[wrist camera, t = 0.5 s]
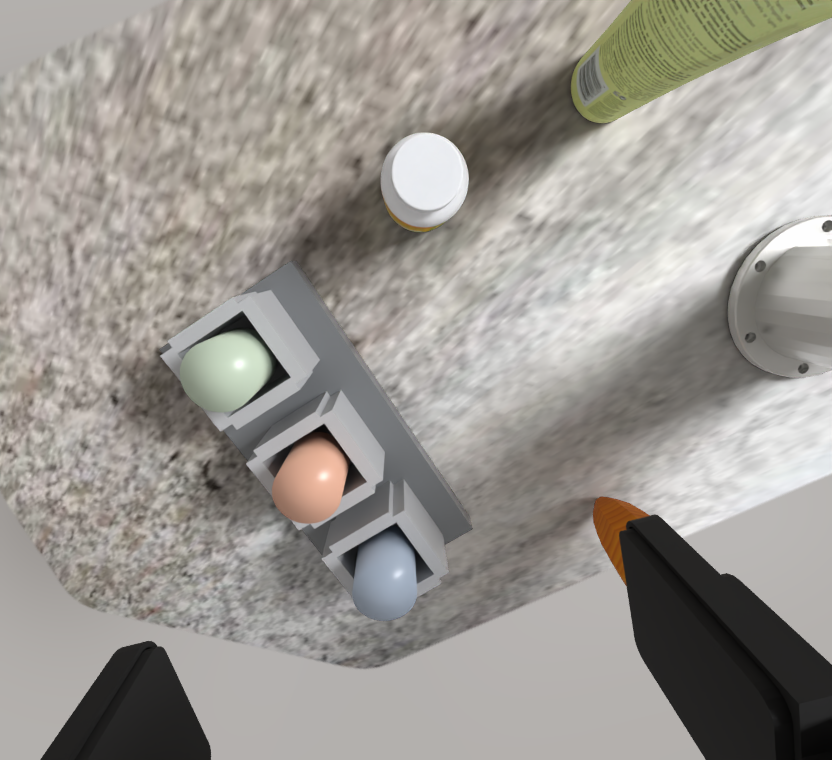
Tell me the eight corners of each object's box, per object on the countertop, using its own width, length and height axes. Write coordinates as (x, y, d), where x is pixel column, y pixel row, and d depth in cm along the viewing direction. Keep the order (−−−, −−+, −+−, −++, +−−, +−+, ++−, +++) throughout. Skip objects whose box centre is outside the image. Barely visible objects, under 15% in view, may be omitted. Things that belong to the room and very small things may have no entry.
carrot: (638, 494, 42) (763, 618, 28) (601, 534, 43) (702, 675, 29) (597, 464, 41) (704, 575, 27) (560, 505, 42) (643, 635, 28)
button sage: (250, 315, 32) (224, 325, 27) (289, 368, 33) (270, 387, 28) (198, 350, 33) (164, 366, 28) (238, 401, 34) (211, 425, 29)
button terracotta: (327, 421, 34) (315, 448, 30) (361, 468, 35) (355, 501, 31) (277, 452, 35) (257, 483, 30) (312, 497, 36) (298, 535, 31)
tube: (652, 52, 34) (978, -211, 15) (638, 130, 35) (921, -18, 16) (574, 42, 33) (804, -238, 14) (562, 122, 35) (759, -40, 16)
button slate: (394, 514, 36) (394, 554, 32) (425, 556, 37) (429, 601, 33) (347, 542, 37) (339, 585, 32) (378, 583, 38) (375, 631, 33)
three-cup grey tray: (296, 260, 36) (272, 261, 30) (469, 516, 42) (482, 565, 36) (171, 344, 38) (121, 363, 31) (356, 581, 44) (348, 640, 37)
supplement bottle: (433, 246, 36) (445, 242, 27) (370, 209, 36) (360, 192, 26) (469, 180, 35) (494, 152, 26) (405, 140, 35) (408, 97, 25)
